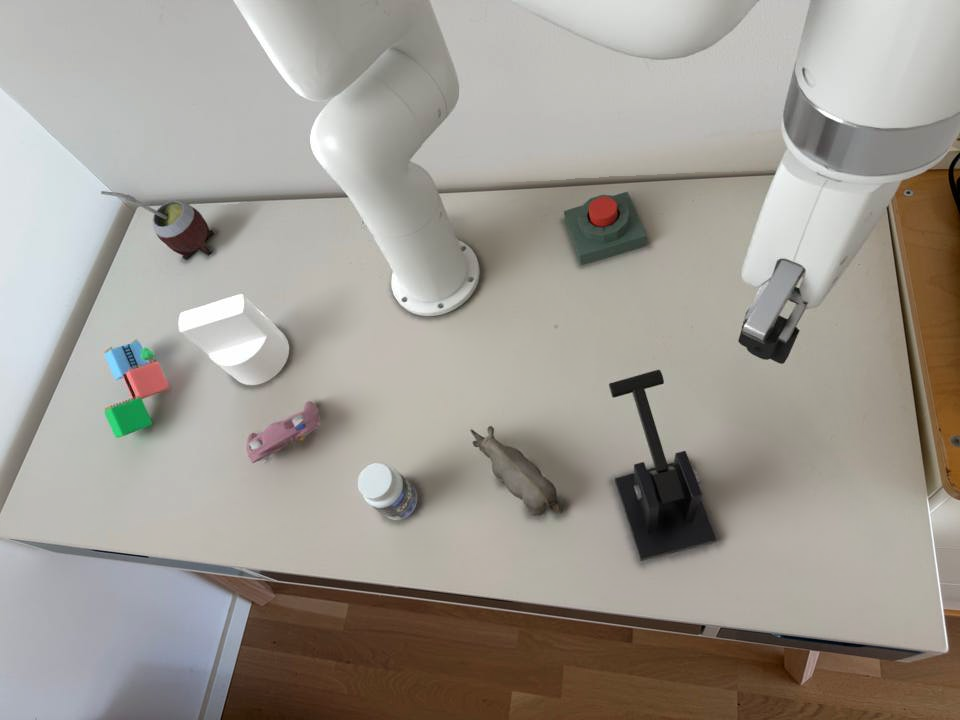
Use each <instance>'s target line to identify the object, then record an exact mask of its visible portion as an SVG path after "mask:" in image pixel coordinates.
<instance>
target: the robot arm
mask: <svg viewBox="0 0 960 720" xmlns="http://www.w3.org/2000/svg"><path fill="white" fill-rule="evenodd" d="M232 1H233V2H234V4H235V6H236V8H237V9H238V10H239V12H240V14H241V16H242V17H243V18H244V20H245V22H246V24H247V26H249V29H251V31H252V33H253V34H254V36H255V37H256V39H257V41H258V42H259V44H260V45H261V47H262V48H263V50H264V51H265V53H266V54H267V56H268V57H269V59H270V60H271V62H272V64H273V65H274V67H275V68H276V69H277V71H278V72H279V74H280V75H281V76H282V78H283V79H284V81H285V82H286V83H287V84H288V85H289V86H290V87H291V89H292V90H293V91H295V92H296V94H298V95H299V96H301V97H303V98H304V99H306V100H308V101H311V102H325V101H328V102H327V104H326V105H325V106H324V107H323V109H322V110H321V111H320V113H319V114H318V116H316V118H315V121H314V123H313V124H312V128H311V130H310V140H309V141H310V147H311V150H312V153H313V155H314V156H315V158H316V160H317V161H318V163H319V164H320V165H321V167H322V168H323V169H324V170H325V171H326V173H327V174H328V175H329V176H330V178H332V180H334V181H335V182H336V184H337V185H338V186H339V187H340V188H341V189H342V191H343V192H344V193H345V194H346V196H347V197H348V199H349V200H350V201H351V203H352V204H353V206H354V207H355V209H356V211H357V212H358V214H359V215H360V217H361V219H362V220H363V222H364V224H365V226H366V227H367V229H368V230H369V232H370V233H371V235H372V238H373V239H374V241H375V243H376V244H377V246H378V248H379V249H380V251H381V253H382V254H383V256H384V258H385V260H386V262H388V265H389V266H390V268H391V270H392V273H391V279H390V282H391V283H390V285H391V290H392V293H393V296H394V297H395V299H396V301H397V302H398V303H399V305H400V306H401V307H402V308H403V309H405V310H406V311H408V312H410V313H412V314H413V315H418V316H421V317H423V316H424V317H433V316H435V317H437V316H441V315H444V314H448V313H449V312H452V311H454V310H456V309H458V308H459V307H461V306H463V305H464V303H466V302H467V301H468V300H469V299H470V297H471V296H472V295H473V294H474V292H475V290H476V288H477V286H478V283H479V280H480V275H481V270H480V263H479V260H478V257H477V255H476V254H475V251H473V249H472V248H471V247H470V246H469V245H468V244H466V243H465V242H463V241H461V240H459V239H458V238H457V236H456V233H455V231H454V228H453V226H452V223H451V221H450V218H449V216H448V213H447V211H446V208H445V206H444V203H443V200H442V197H441V195H440V193H439V190H438V188H437V186H436V183H435V181H434V179H433V177H432V175H431V174H430V173H429V172H428V171H427V170H426V169H425V168H424V167H423V166H421V165H420V164H418V163H416V162H414V161H412V158H413V157H414V155H415V154H416V153H417V152H418V151H419V150H420V149H421V148H422V147H423V144H424V143H425V142H426V141H427V140H428V139H429V138H430V137H431V136H432V134H433V133H434V132H436V130H437V129H438V128H439V127H440V126H441V125H442V123H443V122H444V121H446V119H448V117H449V115H451V113H452V112H453V110H454V109H455V108H456V106H457V104H458V101H459V98H460V83H459V78H458V73H457V71H456V68H455V65H454V62H453V59H452V56H451V54H450V51H449V47H448V46H447V43H446V40H445V38H444V35H443V32H442V29H441V27H440V24H439V22H438V19H437V16H436V14H435V11H434V8H433V5H432V3H431V0H232ZM509 1H510V2H512V3H513V4H515V5H516V6H518V7H519V8H521V9H523V10H525V11H527V12H529V13H530V14H532V15H533V16H535V17H538V18H540V19H542V20H544V21H546V22H548V23H551V24H553V25H554V26H556V27H559V28H561V29H563V30H565V31H567V32H569V33H571V34H573V35H575V36H577V37H579V38H582V39H583V40H586V41H588V42H591V43H593V44H595V45H598V46H600V47H603V48H605V49H608V50H610V51H613V52H616V53H620V54H623V55H627V56H629V57H635V58H639V59H641V58H642V59H647V60H654V61H666V60H667V61H668V60H675V59H683V58H687V57H690V56H693V55H695V54H698V53H700V52H703V51H705V50H707V49H710V48H711V47H712V46H715V45H716V44H717V43H718V42H720V41H721V40H723V39H724V38H725V37H726V36H728V35H729V34H730V33H731V32H733V30H735V28H737V27H738V26H739V25H740V23H741V22H742V21H743V20H744V19H745V17H746V16H747V15H748V14H749V13H750V12H751V11H752V9H753V8H755V6H756V5H757V4H758V2H759V1H760V0H509ZM806 12H807V13H806V16H805V21H804V25H803V28H802V33H801V37H800V41H799V45H798V49H797V53H796V57H795V61H794V65H793V69H792V73H791V78H790V82H789V86H788V89H787V90H788V91H787V94H786V98H785V101H784V102H785V103H784V105H783V106H784V107H783V111H782V114H781V120H780V130H781V135H782V138H783V141H784V144H785V146H786V150H785V151H784V154H783V156H782V158H781V161H780V163H779V165H778V167H777V169H776V171H775V173H774V176H773V178H772V181H771V182H770V186H769V188H768V190H767V193H766V195H765V199H764V201H763V203H762V206H761V209H760V212H759V215H758V217H757V220H756V224H755V227H754V230H753V233H752V236H751V239H750V241H749V245H748V249H747V252H746V255H745V257H744V261H743V264H742V267H741V270H740V271H741V272H740V274H741V279H742V281H743V282H744V283H745V284H747V285H749V286H751V287H753V288H758V287H759V288H758V290H757V292H756V294H755V296H754V299H753V300H752V302H751V304H750V306H749V308H748V309H747V311H746V312H745V315H744V319H743V321H742V326H741V329H740V333H739V337H738V340H737V341H738V343H739V344H740V345H741V346H742V347H744V348H746V350H747V352H748V353H749V354H751V355H752V356H755V357H756V358H758V359H761V360H765V361H767V360H770V361H772V362H775V363H778V364H781V365H782V364H785V363H786V361H787V360H788V358H789V357H790V353H791V351H792V350H793V347H794V344H795V342H796V341H797V338H798V335H799V333H800V331H801V330H800V329H799V328H798V327H797V326H798V324H799V322H800V320H801V318H802V317H803V315H804V313H805V311H806V310H811V309H814V308H818V307H820V306H821V304H822V303H823V302H824V300H825V299H826V297H827V296H828V295H829V294H830V292H831V291H832V289H833V288H834V287H835V285H836V284H837V283H838V281H839V280H840V279H841V277H842V276H843V274H844V273H845V272H846V270H847V269H848V267H849V266H850V264H851V263H852V262H853V260H854V259H855V257H856V256H857V254H858V253H859V251H860V250H861V249H862V247H863V246H864V244H865V243H866V241H867V240H868V238H869V236H871V234H872V233H873V231H874V229H876V228H875V227H876V226H877V224H878V223H879V221H880V220H881V218H882V217H883V215H884V213H885V211H886V210H887V208H888V206H889V204H891V201H892V200H893V198H894V196H895V194H896V192H897V191H898V189H899V187H900V185H901V183H902V182H903V181H905V180H908V179H911V178H914V177H916V176H918V175H921V174H923V173H926V172H927V171H928V170H930V169H931V168H933V167H935V166H936V165H937V164H938V163H940V162H941V161H942V160H943V159H944V157H945V156H947V154H948V153H949V152H950V150H951V149H952V147H953V145H954V143H955V141H956V139H957V138H958V136H959V134H960V0H809V3H808V9H807V11H806ZM801 278H802V280H801ZM800 280H801V282H800ZM799 282H800V285H799V287H798V286H797V285H798V284H799ZM788 301H789V302H792V303H794V307H793V308H792V310H791V312H790V314H789V316H788V318H787V317H784V316H781V315H780V314H781V313H782V311H783V309H784V308H785V306H786V304H787V302H788Z"/></svg>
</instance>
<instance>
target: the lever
mask: <svg viewBox="0 0 960 720" xmlns="http://www.w3.org/2000/svg"><path fill="white" fill-rule="evenodd" d="M664 383H665V380H664V375H663V373H662V371H661V369H655V370H652V371H648V372H645V373H641V374H637V375H634V376H630V377H627V378H623V379H620V380H615V381H613V382H610V383H608V387H609V391H610V394H611V397H612V398H618V397H623V396H625V395H628V394H632V396H633V400H634V403H635V407H636V409H637V413H638V417H639V420H640V423H641V427H642V430H643V432H644V436H645V440H646V443H647V447H648V449H649V453H650V456H651V460H652V463H653V466H654V468H655V469H656V470H654V471H651V472H649V473H650V476H651V479H652V482H653V486H654V489H655V492H656V496H657V499H658V500H659V501H660V502H661V503H662V504H664V503H667V502H671V501H675V500H679V499H683V498H685V496H684V493H683V490H682V487H681V483H680V480H679V477H678V473H677V470H676V469H675V468H674V467H672V466H669V467H668V465H667V464H668V461H667V457H666V455H665V451H664V448H663V446H662V442H661V439H660V435H659V432H658V429H657V426H656V423H655V419H654V416H653V413H652V410H651V406H650V403H649V399H648V396H647V392H646V389H649V388H653V387H658V386H661V385H663V384H664Z"/></svg>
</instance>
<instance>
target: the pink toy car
mask: <svg viewBox="0 0 960 720" xmlns="http://www.w3.org/2000/svg"><path fill="white" fill-rule="evenodd" d="M319 422H320V411H319V408H318V406H317V405H316V404H315V403H314V402H313V401H311V400H308V401H306V402H305V403H304V407H303V410H302V411H300V412H298V413H296V414H294V415H291V416H289V417H288V418H286V419H283V420H279V421H275V422H273V423H271V424H270V425H269V426H268V427H266V428H265V429H264V430H263V432H261V433H259V434H258V433H255V432H252V433H250V434H248V437H247V442H246V448H245V449H246V452H247V457H248V458H249V460H250V462H251V463H252V464H255V463H257V462H262V464H268V463H270V462H271V461H272V459H273V457H271V456H272V455H273V454H275V453H277V452H279V451H281V450H283V449H285V448H286V447H288V446H289V444H288V442H287V441H289V440H291V439H292V441H293V442H297V441H300V442H302V441H305V440H306V438H307V437H306V436H308V435H309V434H311V433H313V431H314V430H316V429H318V428H320V424H319Z"/></svg>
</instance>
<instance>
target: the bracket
mask: <svg viewBox="0 0 960 720" xmlns="http://www.w3.org/2000/svg"><path fill="white" fill-rule="evenodd" d="M667 465H668V467H669V466H672V467H674V468H675V469H676V470H677V473H678V477H679V480H680V483H681V487H682V490H683V493H684V496H685V498H683V499H679V500H675V501H671V502H667V503H664V504H662V503H661V502H660V501H659V500H658V499H657V496H656V492H655V489H654V486H653V482H652V479H651V476H650V473H649V472H651V471H654V470H656V469H655V467H652V468H648V469H647V466H646V464H645V462H644V461H642V462H637V463H635V464H633V472H632V473H630V474H626V475H622V476H618V477H615V478H614V482H615V485H616V489H617V492H618V495H619V499H620V501H621V504H622V508H623V511H624V513H625V517H626V520H627V524H628V526H629V529H630V532H631V535H632V538H633V541H634V545H635V548H636V551H637V555H638V558H639V560H640V562H642V561H647V560H650V559H654V558H658V557H662V556H666V555H670V554H674V553H678V552H681V551H686V550H689V549H693V548H698V547H702V546H706V545H709V544H712V543H715V542H716V541H717V537H716V535H715V532H714V529H713V527H712V524H711V522H710V520H709V517H708V514H707V511H706V508H705V506H704V504H703V502H702V497H703V492H702V490H701V487H700V484H701V478H700V475H699V473H698V471H697V469H695V468H694V469H693V466H692V464H691V461H690V459H689V456H688V454H687V451H686V450H682V451H679V452H675V453H674V460H673V462H670V463H667Z"/></svg>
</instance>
